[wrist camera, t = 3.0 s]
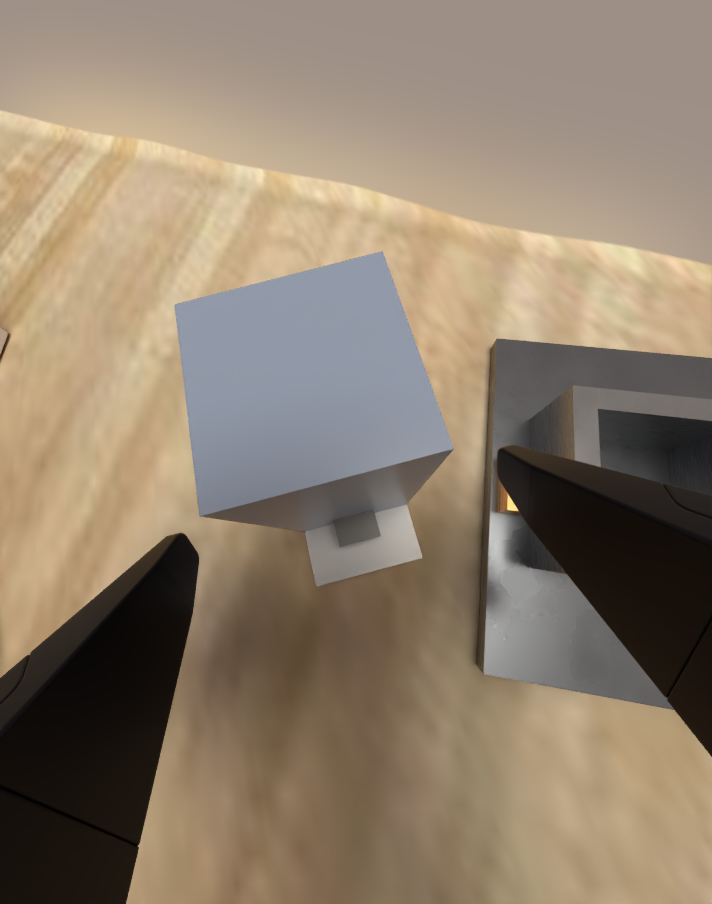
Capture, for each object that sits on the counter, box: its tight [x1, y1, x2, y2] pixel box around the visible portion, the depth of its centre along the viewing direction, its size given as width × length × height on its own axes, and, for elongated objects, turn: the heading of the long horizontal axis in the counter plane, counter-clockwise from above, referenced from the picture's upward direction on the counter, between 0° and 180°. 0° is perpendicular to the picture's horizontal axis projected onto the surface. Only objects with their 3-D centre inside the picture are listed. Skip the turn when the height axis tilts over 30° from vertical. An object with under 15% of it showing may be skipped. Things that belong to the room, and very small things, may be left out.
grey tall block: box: [175, 251, 454, 587], centre depth 12 cm, size 9×4×13 cm, turn 14°
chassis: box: [477, 339, 712, 710], centre depth 15 cm, size 18×12×5 cm, turn 171°
